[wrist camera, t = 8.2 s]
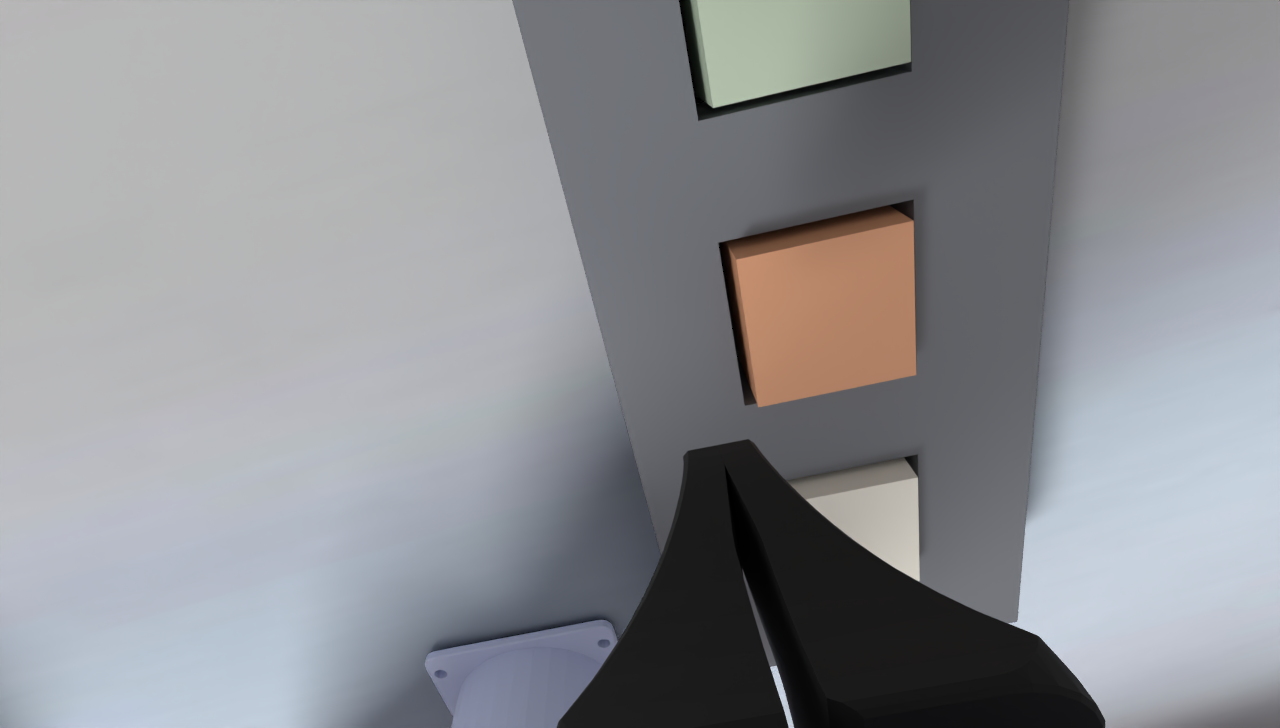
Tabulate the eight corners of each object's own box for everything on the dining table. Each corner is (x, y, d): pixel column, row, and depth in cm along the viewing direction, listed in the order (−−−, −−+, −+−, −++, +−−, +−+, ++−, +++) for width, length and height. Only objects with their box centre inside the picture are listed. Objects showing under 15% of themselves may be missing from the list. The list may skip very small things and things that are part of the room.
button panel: (975, 561, 26) (1017, 621, 24) (685, 616, 27) (694, 680, 24) (1012, -415, 13) (1113, -524, 11) (458, -263, 14) (423, -330, 11)
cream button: (883, 516, 24) (919, 581, 21) (767, 539, 25) (788, 605, 22) (878, 420, 22) (918, 477, 19) (752, 446, 23) (773, 505, 20)
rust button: (873, 327, 21) (916, 374, 18) (738, 355, 21) (758, 407, 18) (866, 191, 19) (913, 220, 16) (716, 224, 19) (736, 259, 16)
